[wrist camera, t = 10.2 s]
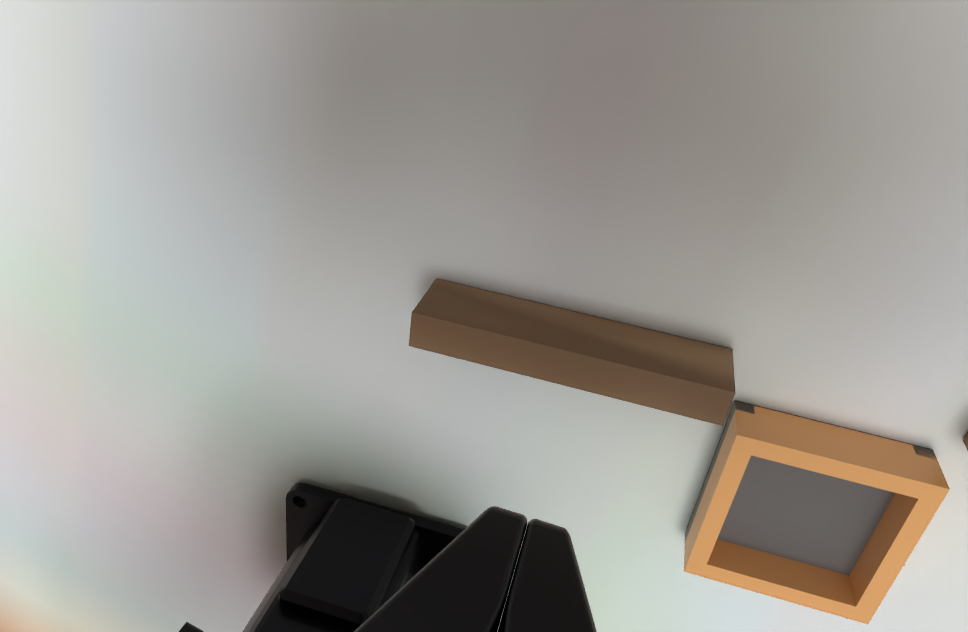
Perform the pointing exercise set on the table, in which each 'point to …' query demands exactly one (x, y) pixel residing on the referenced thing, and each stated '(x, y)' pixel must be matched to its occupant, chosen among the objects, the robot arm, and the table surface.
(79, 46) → the table surface
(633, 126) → the table surface
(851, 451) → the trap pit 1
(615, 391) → the finger box
